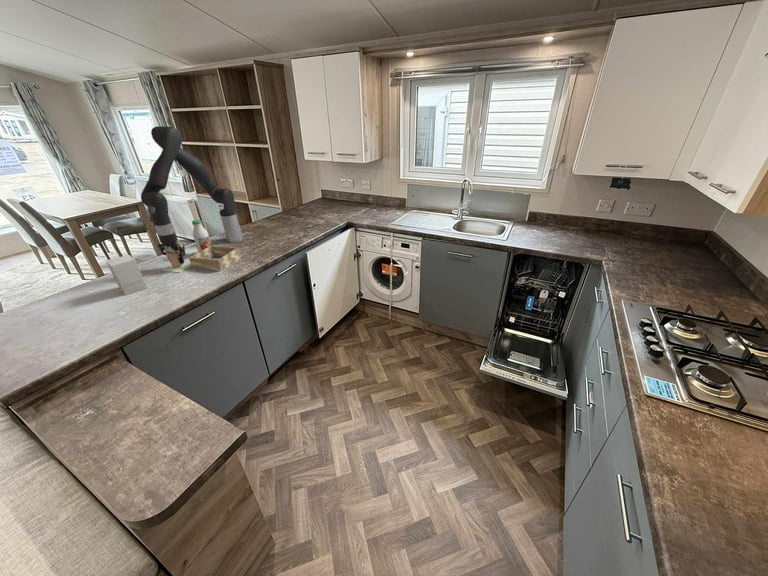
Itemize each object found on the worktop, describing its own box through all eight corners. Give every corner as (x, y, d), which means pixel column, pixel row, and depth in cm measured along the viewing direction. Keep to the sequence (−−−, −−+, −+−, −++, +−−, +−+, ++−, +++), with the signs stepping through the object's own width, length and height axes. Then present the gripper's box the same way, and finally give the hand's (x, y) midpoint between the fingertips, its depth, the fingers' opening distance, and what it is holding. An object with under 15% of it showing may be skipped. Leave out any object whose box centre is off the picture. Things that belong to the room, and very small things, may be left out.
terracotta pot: (177, 261, 162) (170, 242, 157) (187, 262, 161) (180, 243, 156) (168, 266, 157) (160, 246, 152) (178, 267, 156) (171, 247, 151)
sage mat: (178, 262, 166) (177, 261, 166) (195, 264, 164) (195, 263, 164) (161, 270, 156) (161, 270, 156) (179, 272, 155) (179, 272, 154)
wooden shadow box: (214, 255, 175) (211, 245, 172) (241, 257, 172) (238, 247, 169) (192, 267, 160) (188, 257, 157) (221, 270, 157) (218, 260, 154)
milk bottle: (197, 256, 173) (186, 223, 163) (200, 251, 179) (190, 219, 169) (212, 255, 175) (202, 222, 165) (214, 250, 181) (205, 218, 171)
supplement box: (142, 282, 146) (129, 254, 138) (148, 288, 141) (135, 259, 133) (119, 289, 140) (104, 260, 132) (124, 295, 135) (110, 265, 127)
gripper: (184, 231, 152) (194, 261, 161) (160, 229, 155) (171, 258, 163) (172, 235, 146) (183, 266, 155) (147, 233, 148) (159, 264, 157)
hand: (177, 262), depth 159 cm, fingers closed on terracotta pot, 5 cm apart
